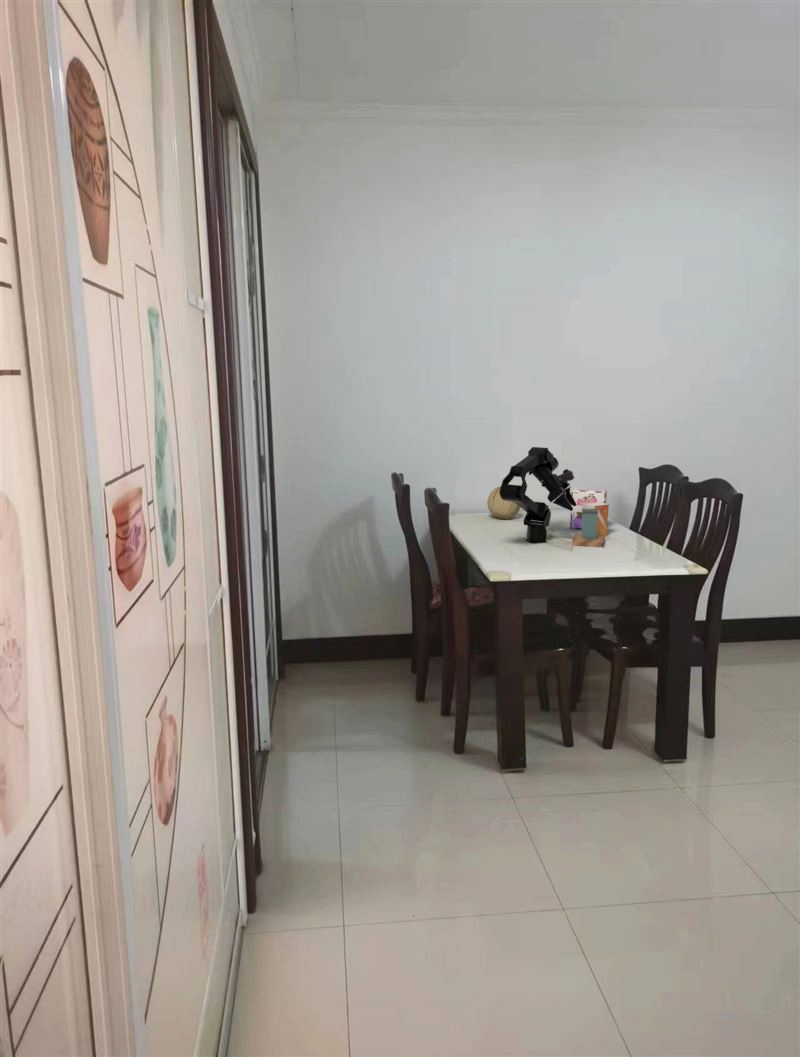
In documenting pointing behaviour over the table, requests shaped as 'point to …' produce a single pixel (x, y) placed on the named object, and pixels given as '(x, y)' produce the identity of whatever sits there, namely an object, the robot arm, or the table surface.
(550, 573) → the table surface
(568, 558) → the table surface
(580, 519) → the candy box
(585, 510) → the tea tin
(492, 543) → the table surface
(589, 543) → the walnut block
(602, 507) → the small box
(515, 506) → the cantaloupe
